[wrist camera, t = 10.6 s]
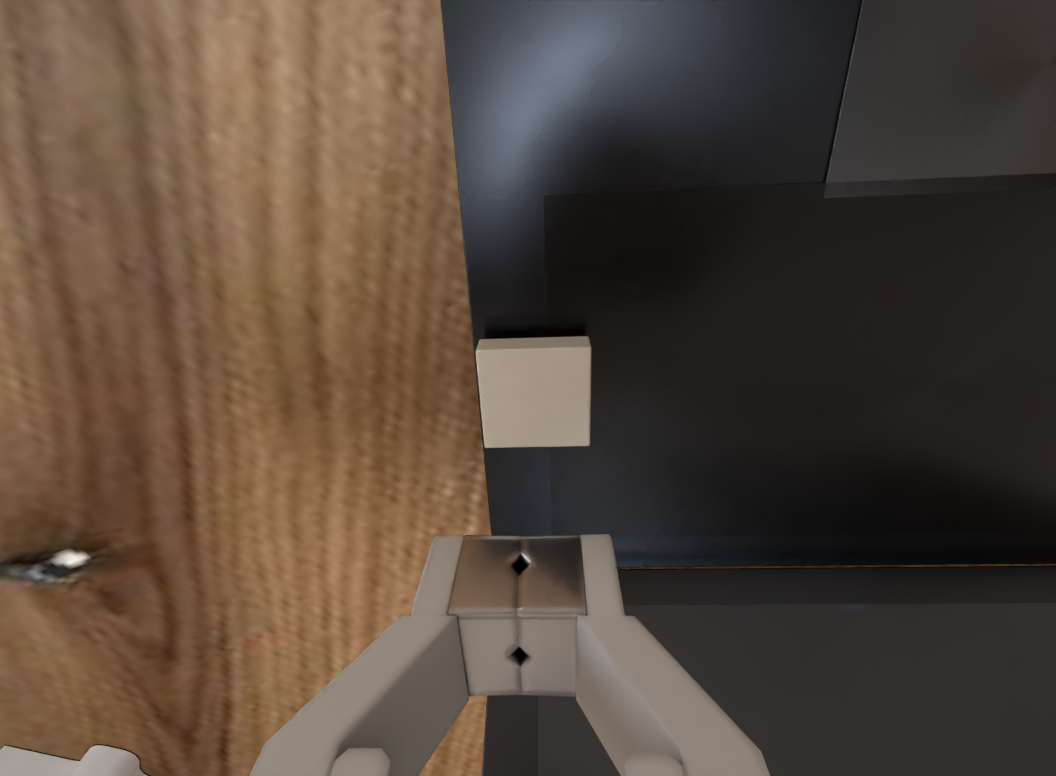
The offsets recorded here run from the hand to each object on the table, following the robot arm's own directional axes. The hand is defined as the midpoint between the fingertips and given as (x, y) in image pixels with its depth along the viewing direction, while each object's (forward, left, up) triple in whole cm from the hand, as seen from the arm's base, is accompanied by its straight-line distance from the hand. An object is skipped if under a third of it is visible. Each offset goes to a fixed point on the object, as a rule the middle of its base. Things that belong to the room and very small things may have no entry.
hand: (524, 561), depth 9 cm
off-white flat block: (0, 0, -8) cm, 8 cm away
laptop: (-2, +13, -10) cm, 17 cm away
